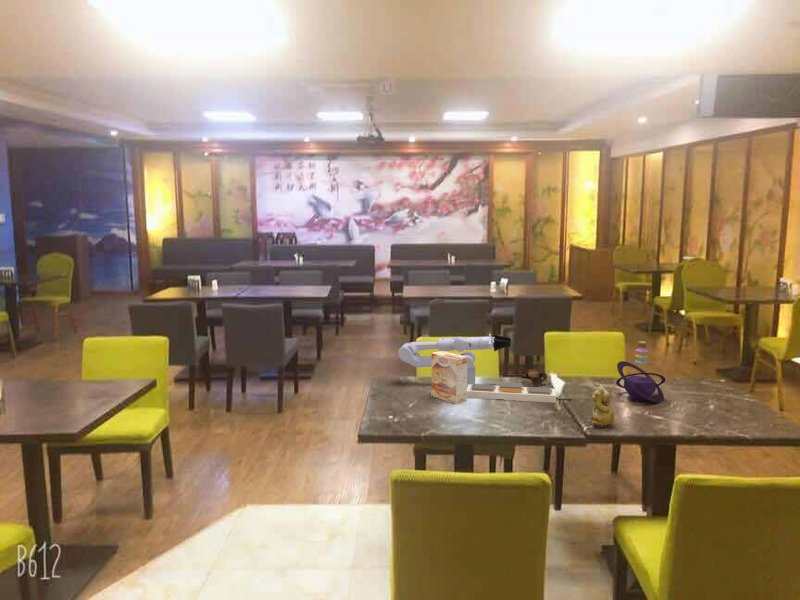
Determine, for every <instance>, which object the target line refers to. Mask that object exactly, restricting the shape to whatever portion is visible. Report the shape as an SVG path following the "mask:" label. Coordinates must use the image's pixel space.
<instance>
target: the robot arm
mask: <svg viewBox="0 0 800 600" xmlns="http://www.w3.org/2000/svg"><path fill="white" fill-rule="evenodd" d="M511 342H512V339H511V337H508V336H503V335H499V334H496V333H495V334H494V337H493V336H492V334H491V333H489V334H488V336H472V337H471V336H470V337H464V336H456V337H455V336H453V337H449V338H447V337H446V338H445V337H444V336H443V337H441V338H438V340H437V341H411V342H405V343H403V344H402V346H401V347H400V348H399V349H398V350H397V351H398V352H397V355H398V357H399V359H401V361H402V362H403V363H407V364H408V365H410V366H413V367H414V368H432V355H424V356H422V355H420V354H419V353H418V352H419V351H425V350H426V351H428V350H438V352H439V351H445V352H449V351H450V352H453V351H457V352H459V353H457V354H458V355H462V356H467V387H468V384H472V385H473V384H477V383H476V366H475V361H476V356H475V354H474V353H473V352H472V351H478V350H481V351H482V350H493V351H494V352H496V351H498V350H501V349H504V348H509V347H511ZM469 350H470V351H469ZM462 352H463V353H462Z"/></svg>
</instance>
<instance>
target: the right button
mask: <svg viewBox="0 0 800 600" xmlns="http://www.w3.org/2000/svg"><path fill="white" fill-rule="evenodd" d="M550 389H551V387H541V386H532V387H529V386H528V394H542V395H551V392H550Z"/></svg>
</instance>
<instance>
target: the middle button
mask: <svg viewBox="0 0 800 600" xmlns="http://www.w3.org/2000/svg"><path fill="white" fill-rule="evenodd" d="M499 386H500V391H508V392H522V387H523V383H522V382H509V381H508V382H504V381H500V383H499Z"/></svg>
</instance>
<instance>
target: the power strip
mask: <svg viewBox="0 0 800 600" xmlns="http://www.w3.org/2000/svg"><path fill="white" fill-rule="evenodd" d="M472 386H473V385H472V384H468V387H467V399H478V398H480V399H479V400H482V399H483V400H496V399H504V400H503V401H514V400H515V401H516V402H517V401H518V402H533V403H534V402H535V403H537V402H538V403H550V404H551V403H553V404H554V403H555V404H556V403H557V400H559V399H558V398H564V399H572V400H573V397H568V396H567V397H566V396H557V391H556V389H555V388H550V392H551V395H542V394H528V387H529V386H528V387H524V386H522V392H508V391H500V385H494V392H486V391H472Z"/></svg>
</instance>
